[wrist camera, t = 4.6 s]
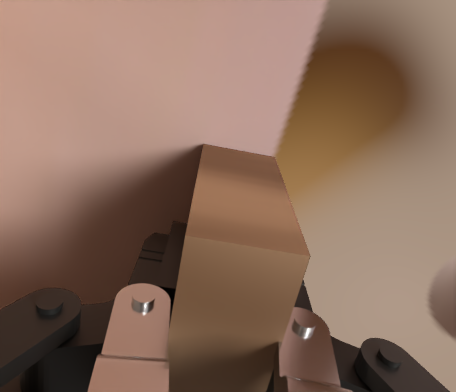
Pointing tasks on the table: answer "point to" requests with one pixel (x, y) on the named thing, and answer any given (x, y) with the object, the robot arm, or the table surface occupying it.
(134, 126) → the table surface
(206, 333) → the copper bar
